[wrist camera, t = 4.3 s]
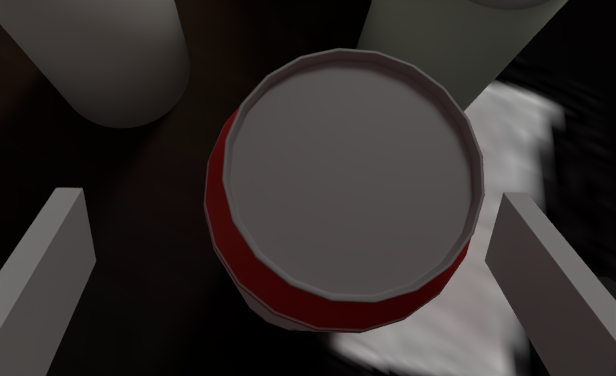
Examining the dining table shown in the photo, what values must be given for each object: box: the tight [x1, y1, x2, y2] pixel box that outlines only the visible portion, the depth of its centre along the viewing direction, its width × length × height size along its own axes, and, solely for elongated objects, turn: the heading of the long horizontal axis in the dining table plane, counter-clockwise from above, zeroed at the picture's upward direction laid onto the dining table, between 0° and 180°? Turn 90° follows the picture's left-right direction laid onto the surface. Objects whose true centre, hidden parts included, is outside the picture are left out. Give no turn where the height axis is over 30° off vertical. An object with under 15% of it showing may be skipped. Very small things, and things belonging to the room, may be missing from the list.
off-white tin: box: [0, 0, 190, 128], centre depth 22 cm, size 7×7×12 cm
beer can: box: [204, 48, 485, 333], centre depth 18 cm, size 6×6×16 cm
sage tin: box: [356, 0, 568, 112], centre depth 23 cm, size 7×7×12 cm
